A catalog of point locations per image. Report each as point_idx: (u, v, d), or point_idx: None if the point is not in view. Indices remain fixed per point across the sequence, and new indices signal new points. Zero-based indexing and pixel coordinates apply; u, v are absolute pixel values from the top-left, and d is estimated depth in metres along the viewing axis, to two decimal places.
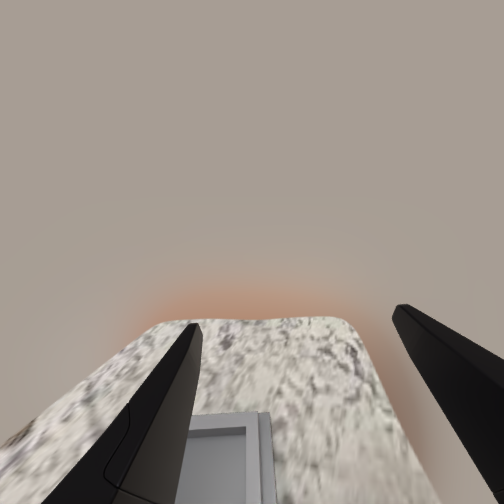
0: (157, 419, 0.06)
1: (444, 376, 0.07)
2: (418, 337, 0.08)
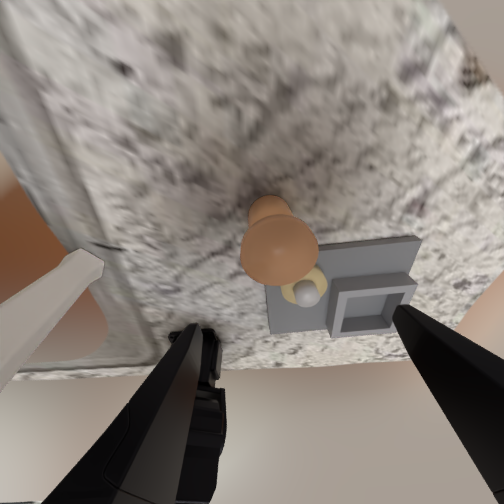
0: (157, 419, 0.06)
1: (444, 376, 0.07)
2: (418, 337, 0.08)
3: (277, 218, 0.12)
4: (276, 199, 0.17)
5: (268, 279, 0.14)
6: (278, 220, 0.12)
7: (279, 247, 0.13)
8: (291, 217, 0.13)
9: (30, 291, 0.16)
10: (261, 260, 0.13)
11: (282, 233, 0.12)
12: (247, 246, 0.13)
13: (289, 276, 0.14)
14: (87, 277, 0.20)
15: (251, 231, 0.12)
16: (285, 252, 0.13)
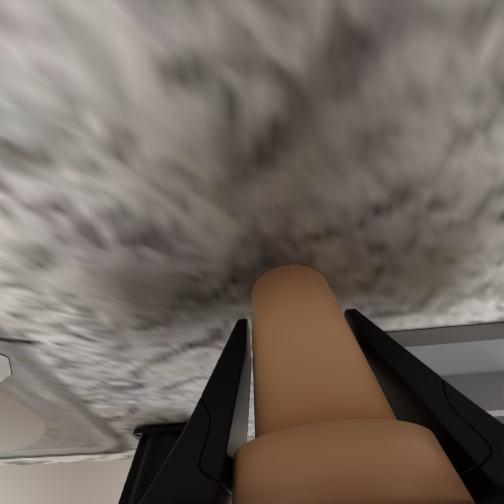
0: (234, 413, 0.06)
1: (378, 381, 0.07)
2: (359, 342, 0.08)
3: (358, 462, 0.04)
4: (308, 280, 0.09)
5: None
6: (372, 496, 0.03)
7: None
8: (398, 439, 0.04)
9: None
10: None
11: None
12: None
13: None
14: None
15: (266, 492, 0.04)
16: None
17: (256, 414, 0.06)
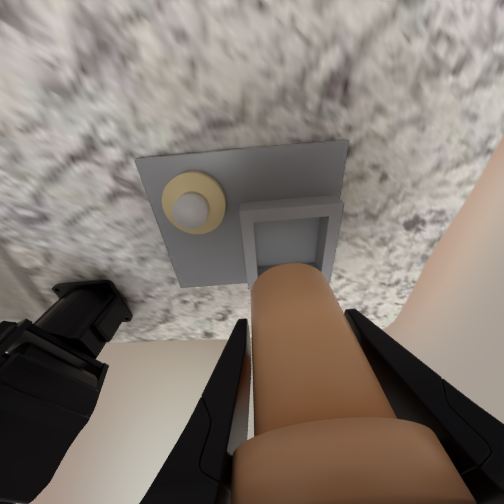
0: (234, 413, 0.06)
1: (378, 381, 0.07)
2: (359, 342, 0.08)
3: (358, 461, 0.03)
4: (308, 278, 0.08)
5: None
6: (372, 495, 0.03)
7: None
8: (398, 438, 0.04)
9: None
10: None
11: None
12: None
13: None
14: None
15: (265, 491, 0.04)
16: None
17: (255, 413, 0.06)
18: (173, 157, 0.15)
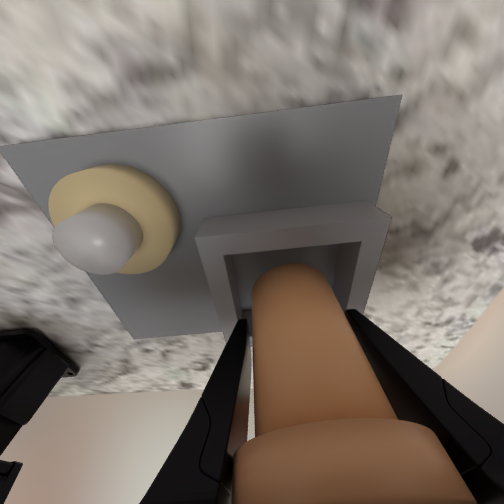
0: (234, 413, 0.06)
1: None
2: (359, 342, 0.08)
3: (359, 462, 0.03)
4: (309, 279, 0.08)
5: None
6: (373, 496, 0.03)
7: None
8: (399, 439, 0.04)
9: None
10: None
11: None
12: None
13: None
14: None
15: (266, 491, 0.04)
16: None
17: (256, 413, 0.06)
18: (68, 140, 0.08)
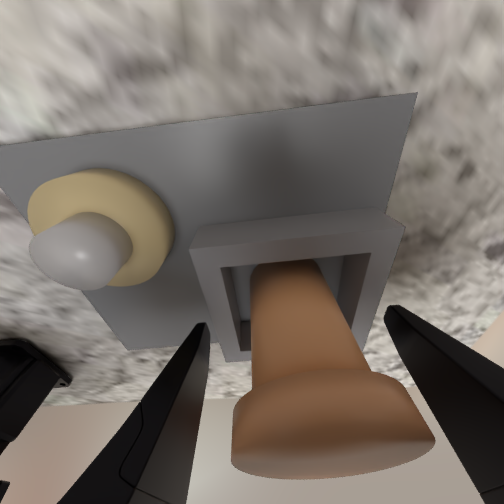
0: (170, 418, 0.06)
1: (433, 377, 0.07)
2: (408, 338, 0.08)
3: (335, 398, 0.04)
4: (302, 265, 0.09)
5: (295, 475, 0.06)
6: (345, 420, 0.04)
7: (332, 449, 0.05)
8: (370, 384, 0.05)
9: None
10: (283, 462, 0.05)
11: (348, 435, 0.04)
12: (249, 451, 0.05)
13: (344, 471, 0.06)
14: None
15: (260, 426, 0.04)
16: (344, 453, 0.05)
17: (253, 378, 0.07)
18: (49, 142, 0.07)
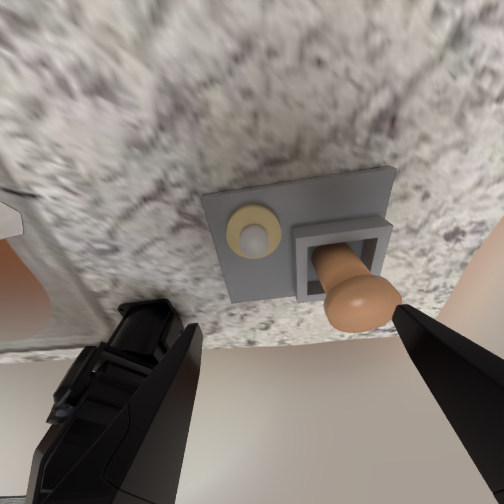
0: (157, 419, 0.06)
1: (444, 376, 0.07)
2: (418, 337, 0.08)
3: (367, 280, 0.14)
4: (343, 245, 0.19)
5: (349, 327, 0.16)
6: (370, 284, 0.13)
7: (365, 304, 0.14)
8: (378, 278, 0.14)
9: None
10: (346, 314, 0.15)
11: (371, 293, 0.14)
12: (337, 304, 0.14)
13: (369, 325, 0.16)
14: None
15: (342, 292, 0.14)
16: (370, 307, 0.14)
17: (329, 289, 0.16)
18: (235, 194, 0.17)
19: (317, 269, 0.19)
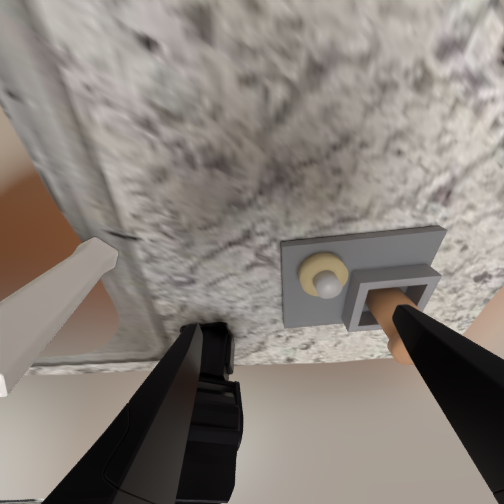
0: (157, 419, 0.06)
1: (444, 376, 0.07)
2: (418, 337, 0.08)
3: None
4: (395, 287, 0.22)
5: (408, 361, 0.19)
6: None
7: None
8: None
9: (47, 278, 0.15)
10: None
11: None
12: None
13: None
14: (101, 267, 0.19)
15: None
16: None
17: (392, 329, 0.19)
18: (311, 244, 0.20)
19: (372, 307, 0.22)
